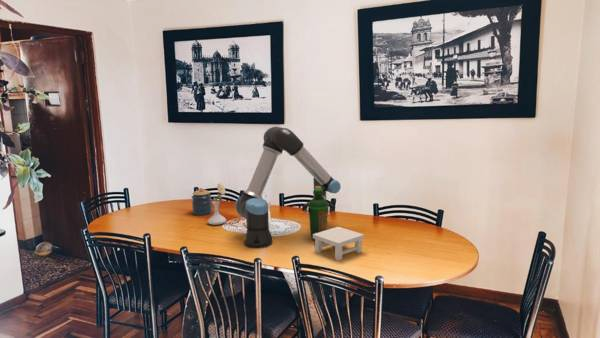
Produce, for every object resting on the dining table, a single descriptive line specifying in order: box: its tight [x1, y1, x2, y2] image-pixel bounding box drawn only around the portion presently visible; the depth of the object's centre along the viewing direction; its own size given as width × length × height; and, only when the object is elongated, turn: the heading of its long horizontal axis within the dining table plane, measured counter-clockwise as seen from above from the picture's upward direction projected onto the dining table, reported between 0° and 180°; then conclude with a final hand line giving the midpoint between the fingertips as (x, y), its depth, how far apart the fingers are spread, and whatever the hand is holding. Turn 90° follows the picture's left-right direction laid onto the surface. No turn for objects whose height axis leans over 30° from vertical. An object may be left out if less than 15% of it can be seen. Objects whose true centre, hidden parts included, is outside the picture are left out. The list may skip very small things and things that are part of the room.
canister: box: [191, 187, 213, 217], centre depth 286 cm, size 13×13×18 cm
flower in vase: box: [207, 183, 227, 226], centre depth 262 cm, size 13×11×25 cm
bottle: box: [308, 186, 329, 239], centre depth 229 cm, size 11×11×28 cm
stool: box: [312, 226, 365, 261], centre depth 211 cm, size 18×18×9 cm
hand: (318, 212), depth 225 cm, fingers closed on bottle, 11 cm apart
